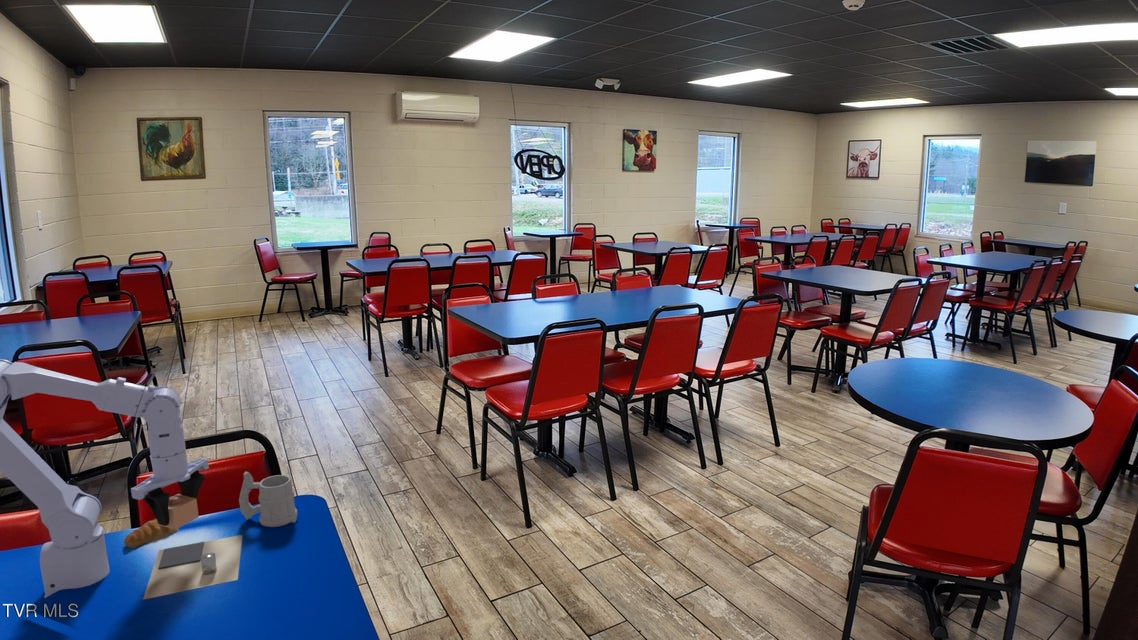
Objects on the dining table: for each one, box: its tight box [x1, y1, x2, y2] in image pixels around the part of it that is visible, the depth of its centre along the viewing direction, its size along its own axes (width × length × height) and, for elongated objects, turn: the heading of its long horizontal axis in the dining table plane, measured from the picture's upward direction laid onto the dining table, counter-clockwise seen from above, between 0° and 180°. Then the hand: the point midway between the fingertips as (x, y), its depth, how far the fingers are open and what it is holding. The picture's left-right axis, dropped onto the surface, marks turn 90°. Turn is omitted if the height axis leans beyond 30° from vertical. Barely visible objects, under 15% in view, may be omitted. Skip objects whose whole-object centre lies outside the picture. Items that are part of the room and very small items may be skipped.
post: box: [201, 552, 217, 575], centre depth 124 cm, size 2×2×3 cm
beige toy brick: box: [155, 493, 199, 530], centre depth 128 cm, size 5×5×5 cm
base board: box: [142, 534, 243, 600], centre depth 127 cm, size 15×17×1 cm
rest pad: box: [158, 541, 205, 569], centre depth 130 cm, size 7×7×1 cm
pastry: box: [123, 518, 179, 549], centre depth 137 cm, size 9×7×4 cm
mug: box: [238, 471, 298, 528], centre depth 143 cm, size 8×12×12 cm, turn 94°
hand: (177, 517), depth 128 cm, fingers closed on beige toy brick, 5 cm apart
